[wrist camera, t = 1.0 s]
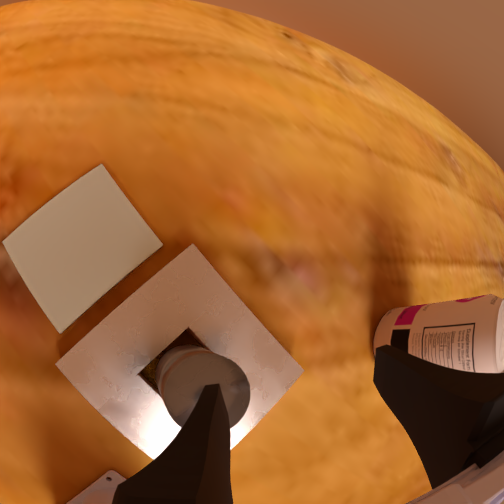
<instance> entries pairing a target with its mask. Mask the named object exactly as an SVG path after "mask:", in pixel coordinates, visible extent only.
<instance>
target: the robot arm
mask: <svg viewBox="0 0 504 504" xmlns="http://www.w3.org/2000/svg"><path fill="white" fill-rule="evenodd" d="M373 382H374V384H375V386H376V388H377V390H378V391H379V393H380V395H381V397H382V398H383V400H384V401H385V403H386V404H387V405H388V407H389V408H390V409H391V411H392V412H393V413H394V415H395V416H396V417H397V419H398V420H399V422H400V423H401V424H402V426H403V427H404V429H405V430H406V432H407V433H408V435H409V437H410V439H411V440H412V442H413V444H414V446H415V448H416V450H417V452H418V454H419V456H420V459H421V461H422V463H423V465H424V468H425V470H426V473H427V475H428V478H429V481H430V484H431V487H432V490H431V491H429V492H428V493H426V494H424V495H422V496H420V497H418V498H416V499H414V500H412V501H410V502H408V503H406V504H500V503H501V502H502V501H503V500H504V373H477V372H469V371H462V370H457V369H452V368H448V367H444V366H441V365H438V364H435V363H432V362H429V361H426V360H424V359H421V358H419V357H416V356H414V355H411V354H409V353H407V352H404V351H402V350H400V349H398V348H395V347H393V346H390V345H387V344H386V345H383V346H380V347H377V348H376V353H375V367H374V379H373ZM230 447H231V432H230V423H229V415H228V412H227V408H226V405H225V402H224V398H223V395H222V391H221V388H220V384H219V383H218V384H210V385H205V386H204V388H203V390H202V392H201V394H200V397H199V399H198V401H197V403H196V405H195V407H194V408H193V410H192V412H191V414H190V416H189V417H188V419H187V421H186V422H185V424H184V425H183V427H182V428H181V430H180V431H179V432H178V434H177V435H176V436H175V438H174V439H173V440H172V441H171V443H170V444H169V445H168V446H167V447H166V448H165V449H164V450H163V451H162V452H161V454H160V455H159V456H157V457H156V458H155V459H154V460H153V461H152V462H151V463H150V464H148V465H147V466H146V467H145V468H143V469H142V470H141V471H139V472H138V473H136V474H135V475H133V476H132V477H130V478H129V479H125V478H124V477H122V476H121V475H120V474H119V473H117V472H116V471H114V470H109V471H107V472H106V473H105V474H104V475H102V476H101V477H100V478H99V479H97V480H96V481H95V482H94V483H92V484H91V485H90V486H89V487H87V488H86V489H85V490H83V491H82V492H81V493H79V494H78V495H77V496H75V497H74V498H73V499H71V500H70V501H69V502H67V503H66V504H233V499H232V490H231V482H230ZM106 477H110V478H112V479H107V478H106Z"/></svg>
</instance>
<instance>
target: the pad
mask: <svg viewBox="0 0 504 504" xmlns="http://www.w3.org/2000/svg"><path fill="white" fill-rule="evenodd" d="M2 242H3V244H4V246H5V248H6V250H7V252H8V254H9V256H10V258H11V259H12V261H13V263H14V265H15V267H16V268H17V270H18V272H19V274H20V275H21V277H22V279H23V280H24V282H25V284H26V285H27V287H28V289H29V290H30V292H31V293H32V295H33V296H34V298H35V299H36V301H37V302H38V304H39V305H40V307H41V308H42V310H43V311H44V313H45V314H46V316H47V317H48V318H49V320H50V321H51V323H52V324H53V325H54V327H55V328H56V329H57V331H58V332H59V333H60V334H61V333H62V332H63V331H64V330H65V329H67V328H68V327H69V326H70V325H71V324H72V323H73V322H74V321H75V320H76V319H77V318H79V317H80V316H81V315H82V314H83V313H84V312H85V311H86V310H87V309H89V308H90V307H91V306H92V305H93V304H94V303H95V302H96V301H98V300H99V299H100V298H101V297H102V296H103V295H104V294H106V293H107V292H108V291H109V290H110V289H111V288H113V287H114V286H115V285H116V284H117V283H118V282H120V281H121V280H122V279H123V278H124V277H125V276H127V275H128V274H129V273H130V272H131V271H133V270H134V269H135V268H136V267H137V266H139V265H140V264H141V263H142V262H143V261H145V260H146V259H147V258H148V257H150V256H151V255H152V254H153V253H155V252H156V251H157V250H158V249H159V248H161V247H162V246H163V244H162V242H161V241H160V240H159V239H158V237H157V236H156V235H155V234H154V232H153V231H152V230H151V229H150V227H149V226H148V225H147V224H146V222H145V221H144V220H143V218H142V217H141V216H140V214H139V213H138V212H137V211H136V209H135V208H134V207H133V205H132V204H131V203H130V201H129V200H128V199H127V197H126V196H125V195H124V193H123V192H122V191H121V189H120V188H119V187H118V185H117V184H116V182H115V181H114V180H113V178H112V177H111V176H110V174H109V173H108V171H107V170H106V169H105V167H104V166H103V164H100V165H98V166H97V167H95V168H94V169H92V170H91V171H90V172H88V173H87V174H85V175H84V176H82V177H81V178H79V179H78V180H77V181H75V182H74V183H72V184H71V185H70V186H68V187H67V188H66V189H64V190H63V191H62V192H60V193H59V194H58V195H56V196H55V197H54V198H52V199H51V200H50V201H49V202H47V203H46V204H45V205H44V206H42V207H41V208H40V209H39V210H37V211H36V212H35V213H34V214H33V215H31V216H30V217H29V218H28V219H27V220H26V221H24V222H23V223H22V224H21V225H20V226H19V227H18V228H17V229H15V230H14V231H13V232H12V233H11V234H10V235H9V236H8V237H7V238H6V239H5V240H4V241H2Z"/></svg>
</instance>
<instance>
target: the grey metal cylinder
mask: <svg viewBox="0 0 504 504" xmlns="http://www.w3.org/2000/svg"><path fill="white" fill-rule="evenodd" d="M155 380H156V384H157V387H158V390H159V392H160V395H161V397H162V399H163V402H164V404H165V407H166V409H167V411H168V413H169V415H170V417H171V418H172V419H173V421H174V422H175V423H176V424H177V425H178V426H180V427H181V428H182V427H183V425H184V424H185V422H186V421H187V419H188V417H189V416H190V414H191V412H192V410H193V408H194V407H195V405H196V403H197V401H198V399H199V397H200V394H201V392H202V390H203V388H204V386H205V385H210V384H218V383H219V384H220V388H221V391H222V395H223V398H224V402H225V405H226V408H227V412H228V415H229V423H230V429H231V428H232V427H233V426H235V425H236V424H237V423H238V422H239V421H240V420H241V419H242V417H243V416H244V414H245V413H246V411H247V409H248V406H249V402H250V395H251V394H250V385H249V381H248V379H247V376H246V374H245V373H244V371H243V370H242V369H241V368H240V366H238V365H237V364H236V363H235V362H233V361H232V360H230V359H228V358H226V357H224V356H221V355H219V354H216V353H214V352H211V351H209V350H206V349H204V348H201V347H199V346H196V345H189V344H188V345H179V346H176V347H174V348H172V349H170V350H168V351H167V352H166V353H165V354H164V355H163V356H162V357H161V359H160V360H159V362H158V364H157V367H156V371H155Z"/></svg>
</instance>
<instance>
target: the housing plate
mask: <svg viewBox="0 0 504 504" xmlns="http://www.w3.org/2000/svg"><path fill="white" fill-rule="evenodd" d="M186 329H187V330H188V331H189V332H190V333H191V334H192V336H193V337H194V338H195V339H196V340H197V341H198V342H199V343H200V344H201V345H202V346H203V347H204V348H205V349H206V350H209V351H211V352H214V353H216V354H219V355H221V356H224V357H226V358H228V359H230V360H232V361H233V362H235V363H236V364H237V365H238V366H240V368H241V369H242V370H243V371H244V373H245V374H246V376H247V379H248V381H249V385H250V394H251V395H250V402H249V406H248V409H247V411H246V413H245V414H244V416H243V417H242V419H241V420H240V421H239V422H238V423H237V424H236V425H235V426H233V427H232V428H231V429H230V432H231V447H230V450H231V449H232V448H233V447H234V446H235V445H236V444H237V443H238V442H239V441H240V440H241V439H242V438H243V437H244V436H245V435H246V434H247V433H248V432H249V431H250V430H251V429H252V428H253V427H254V426H255V425H256V424H257V423H258V422H259V421H260V420H261V419H262V418H263V417H264V416H265V415H266V414H267V413H268V411H269V410H270V409H271V408H272V407H273V406H274V405H275V404H276V403H277V402H278V401H279V399H280V398H281V397H282V396H283V395H284V394H285V393H286V392H287V390H288V389H289V388H290V387H291V386H292V385H293V384H294V382H295V381H296V380H297V379H298V378H299V376H300V375H301V374H302V373H303V372H304V370H303V369H302V367H301V366H300V365H299V364H298V363H297V362H296V361H295V360H294V359H293V358H292V357H291V356H290V354H289V353H288V352H287V351H286V350H285V349H284V348H283V347H282V346H281V345H280V343H279V342H278V341H277V340H276V339H275V338H274V337H273V336H272V335H271V333H270V332H269V331H268V330H267V329H266V328H265V327H264V326H263V324H262V323H261V322H260V321H259V320H258V319H257V318H256V317H255V315H254V314H253V313H252V312H251V311H250V310H249V309H248V307H247V306H246V305H245V304H244V303H243V302H242V301H241V299H240V298H239V297H238V296H237V295H236V294H235V292H234V291H233V290H232V289H231V288H230V287H229V285H228V284H227V283H226V282H225V281H224V280H223V278H222V277H221V276H220V275H219V274H218V273H217V271H216V270H215V269H214V268H213V267H212V265H211V264H210V263H209V262H208V261H207V259H206V258H205V257H204V256H203V255H202V253H201V252H200V251H199V250H198V249H197V247H196V246H195V245H194V244H191V245H190V246H189V247H188V248H186V249H185V250H184V251H183V252H182V253H180V254H179V255H178V256H177V257H176V258H174V259H173V260H172V261H171V262H169V263H168V264H167V265H166V266H165V267H163V268H162V269H161V270H160V271H159V272H158V273H156V274H155V275H154V276H153V277H152V278H150V279H149V280H148V281H147V282H146V283H145V284H143V285H142V286H141V287H140V288H139V289H138V290H136V291H135V292H134V293H133V294H132V295H131V296H129V297H128V298H127V299H126V300H125V301H124V302H123V303H121V304H120V305H119V306H118V307H117V308H116V309H115V310H113V311H112V312H111V313H110V314H109V315H108V316H107V317H106V318H104V319H103V320H102V321H101V322H100V323H99V324H98V325H97V326H96V327H94V328H93V329H92V330H91V331H90V332H89V333H88V334H87V335H86V336H85V337H83V338H82V339H81V340H80V341H79V342H78V343H77V344H76V345H75V346H74V347H73V348H72V349H70V350H69V351H68V352H67V353H66V354H65V355H64V356H63V357H62V358H61V359H60V360H59V361H58V362H57V363H56V364H55V365H56V366H57V367H58V368H59V369H60V371H61V372H62V373H63V374H64V375H65V377H66V378H67V379H68V380H69V381H70V382H71V383H72V385H73V386H74V387H75V388H76V389H77V390H78V391H79V392H80V393H81V394H82V396H83V397H84V398H85V399H86V400H87V401H88V402H89V403H90V404H91V405H92V406H93V407H94V408H95V409H96V410H97V411H98V412H99V413H100V414H101V415H102V416H103V417H104V418H105V419H106V420H107V421H109V422H110V423H111V424H112V425H113V426H114V427H115V428H116V429H117V430H118V431H119V432H121V433H122V434H123V435H124V436H125V437H126V438H128V439H129V440H130V441H131V442H132V443H133V444H135V445H136V446H137V447H138V448H140V449H141V450H142V451H143V452H145V453H146V454H147V455H148V456H150V457H151V458H152V459H155V458H156V457H157V456H159V455H160V454H161V452H162V451H163V450H164V449H165V448H166V447H167V446H168V445H169V444H170V443H171V441H172V440H173V439H174V438H175V436H176V435H177V434H178V432H179V431H180V430H181V427H180V426H178V425H177V424H176V423H175V422H174V421H173V419H172V418H171V417H170V415H169V413H168V411H167V409H166V407H165V404H164V402H163V399H162V397H161V395H160V392H159V391H158V390H157V389H156V388H155V387H154V386H153V385H152V384H151V383H150V382H149V381H148V380H147V379H146V378H145V377H144V376H143V375H142V374H141V373H140V371H141V370H142V369H143V368H144V367H145V366H146V365H148V364H149V363H150V362H151V361H152V360H153V359H154V358H155V357H156V356H157V355H158V354H160V353H161V352H162V351H163V350H164V349H165V348H166V347H167V346H168V345H169V344H170V343H171V342H173V341H174V340H175V339H176V338H177V337H178V336H179V335H180V334H181V333H182V332H183V331H184V330H186Z"/></svg>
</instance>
